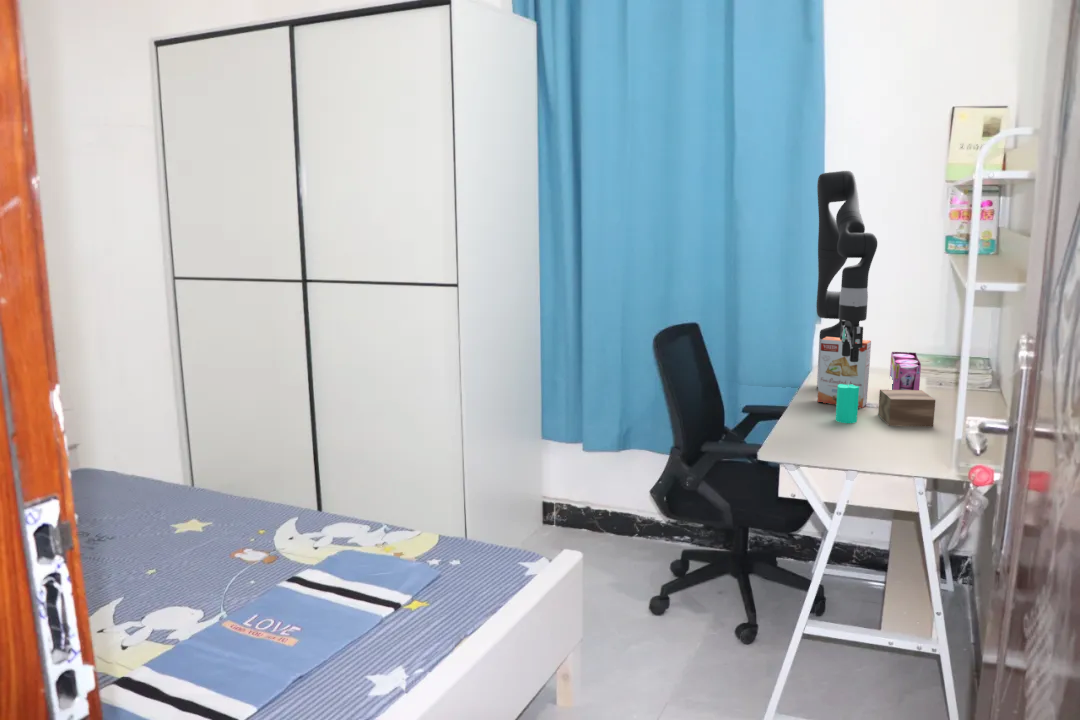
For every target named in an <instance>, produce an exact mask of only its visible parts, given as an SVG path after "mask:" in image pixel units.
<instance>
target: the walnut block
mask: <svg viewBox="0 0 1080 720" xmlns="http://www.w3.org/2000/svg"><path fill="white" fill-rule="evenodd" d="M935 409H936V399H935V398H933V397H932V396H931V395H929V394H928V393H926V392H925V391H924V390H922V389H919V390H889V389H879V396H878V412H877V416H879V417H880V418H881V419H882V421H884V422H885V423H886V424H887V425H888V426H891V427H892V426H893V427H928V428H929V427H930V428H932V427H934V421H935Z"/></svg>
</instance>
